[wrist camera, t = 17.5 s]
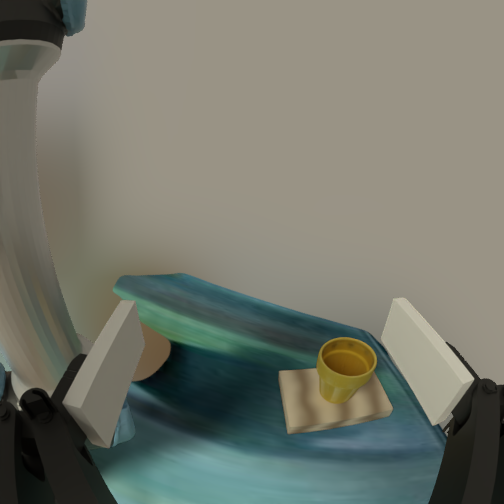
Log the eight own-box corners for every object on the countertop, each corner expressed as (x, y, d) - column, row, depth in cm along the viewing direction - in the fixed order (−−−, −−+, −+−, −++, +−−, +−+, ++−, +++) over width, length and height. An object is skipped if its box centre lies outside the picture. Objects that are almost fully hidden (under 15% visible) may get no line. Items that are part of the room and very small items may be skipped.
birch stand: (287, 434, 39) (289, 427, 38) (278, 378, 52) (279, 370, 51) (388, 416, 40) (393, 408, 39) (365, 369, 53) (369, 361, 52)
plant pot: (358, 416, 39) (376, 381, 35) (303, 405, 42) (313, 369, 39) (364, 378, 48) (378, 342, 44) (316, 368, 51) (325, 331, 48)
